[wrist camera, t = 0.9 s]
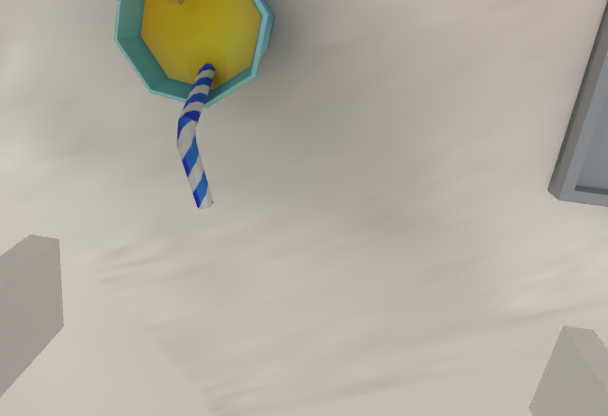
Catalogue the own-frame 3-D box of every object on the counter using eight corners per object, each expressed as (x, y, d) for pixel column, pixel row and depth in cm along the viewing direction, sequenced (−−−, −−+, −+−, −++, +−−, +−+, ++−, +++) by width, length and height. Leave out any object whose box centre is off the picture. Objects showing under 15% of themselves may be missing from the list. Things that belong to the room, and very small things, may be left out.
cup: (309, 130, 36) (283, 204, 22) (206, 143, 37) (119, 222, 23) (277, -90, 31) (217, -173, 17) (159, -68, 32) (13, -128, 18)
